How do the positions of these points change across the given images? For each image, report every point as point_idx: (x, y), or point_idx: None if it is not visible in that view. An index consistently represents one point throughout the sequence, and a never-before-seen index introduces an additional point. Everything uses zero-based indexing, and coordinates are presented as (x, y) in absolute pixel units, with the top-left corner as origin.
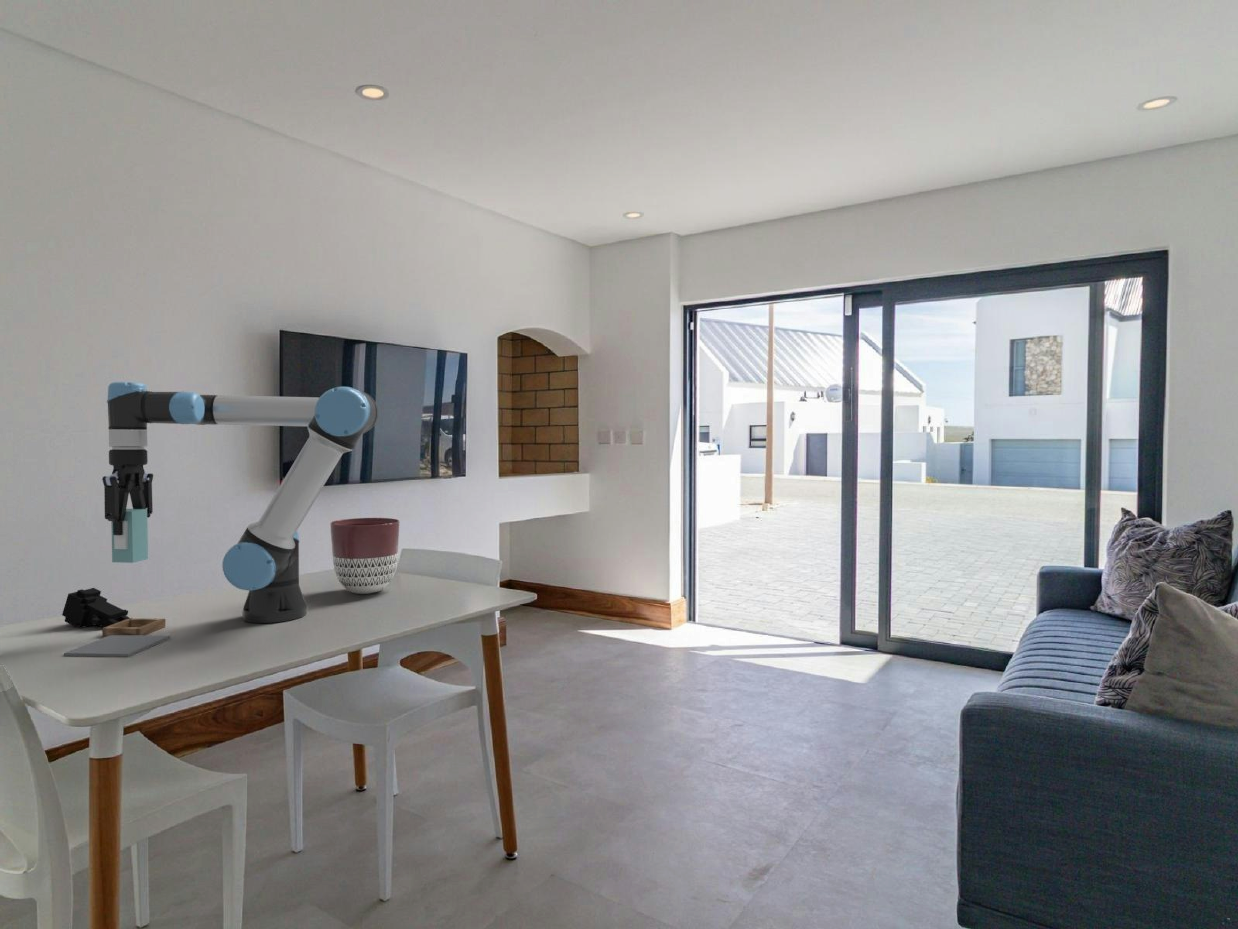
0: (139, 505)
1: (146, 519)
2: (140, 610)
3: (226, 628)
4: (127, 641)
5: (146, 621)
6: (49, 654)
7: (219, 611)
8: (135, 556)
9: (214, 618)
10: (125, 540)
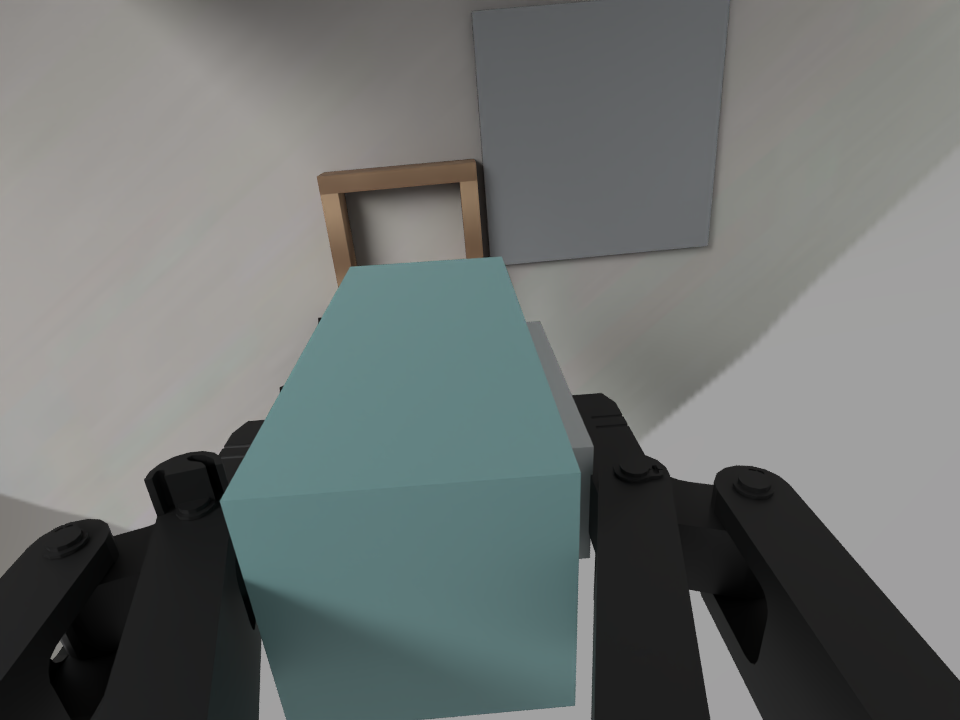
0: (227, 651)
1: (285, 409)
2: (151, 441)
3: None
4: (567, 134)
5: (348, 243)
6: (684, 302)
7: (26, 118)
8: (478, 268)
9: (138, 49)
10: (551, 350)
